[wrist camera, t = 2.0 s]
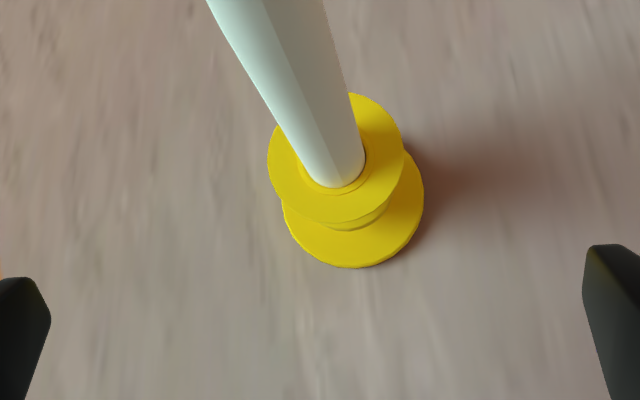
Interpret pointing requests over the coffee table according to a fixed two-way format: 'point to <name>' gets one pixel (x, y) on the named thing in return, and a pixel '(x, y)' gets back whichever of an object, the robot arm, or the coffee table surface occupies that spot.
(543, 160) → the coffee table surface
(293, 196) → the candle
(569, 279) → the coffee table surface
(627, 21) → the coffee table surface
